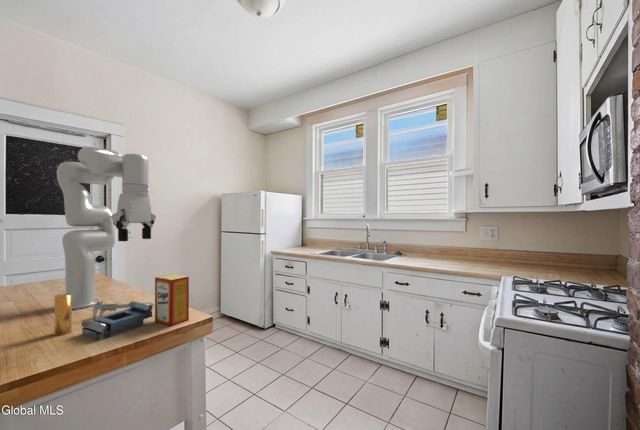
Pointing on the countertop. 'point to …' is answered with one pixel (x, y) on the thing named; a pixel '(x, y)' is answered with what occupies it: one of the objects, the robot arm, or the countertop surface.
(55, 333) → the gold tall block
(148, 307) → the grey bench vise
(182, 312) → the baking soda box
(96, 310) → the caliper
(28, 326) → the countertop surface
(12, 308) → the countertop surface
